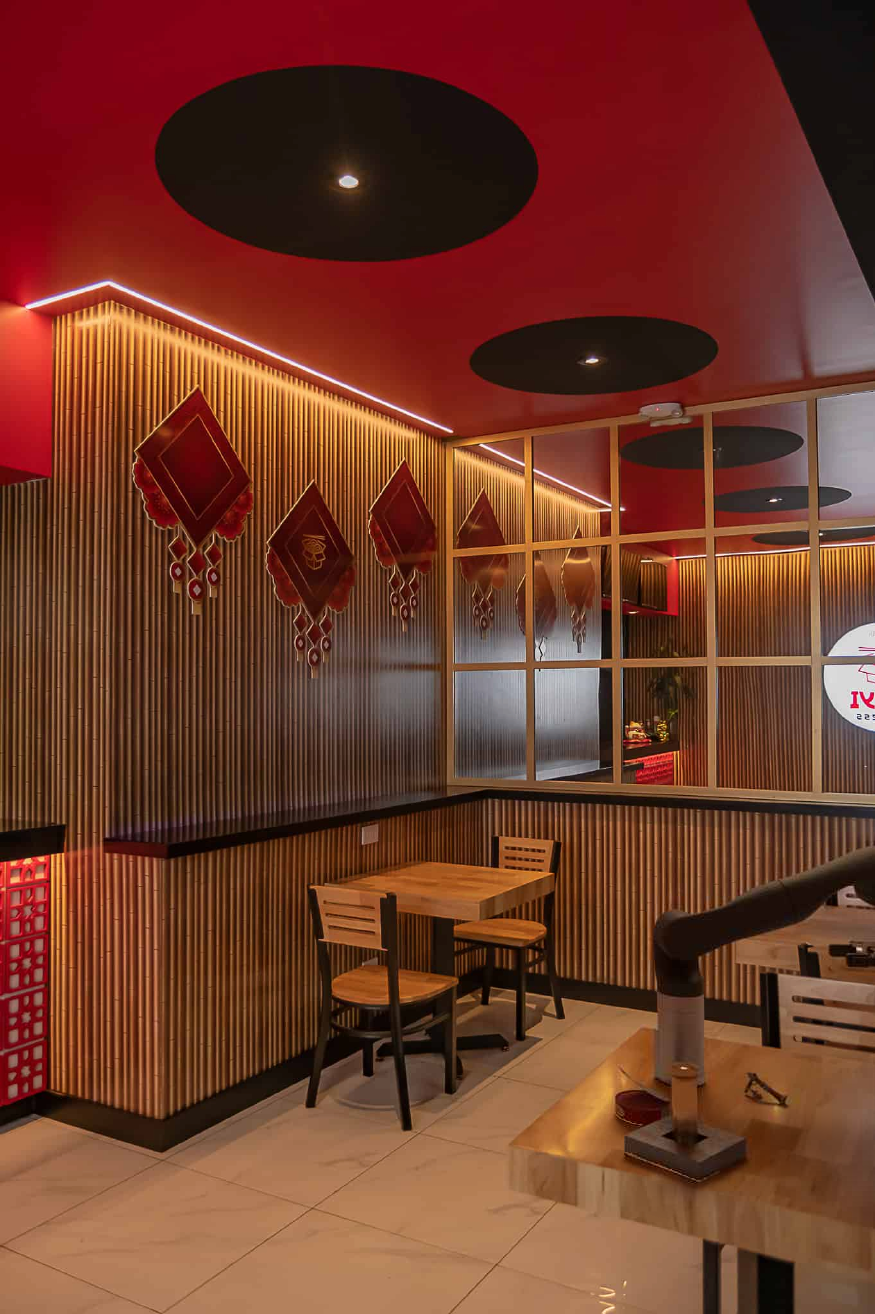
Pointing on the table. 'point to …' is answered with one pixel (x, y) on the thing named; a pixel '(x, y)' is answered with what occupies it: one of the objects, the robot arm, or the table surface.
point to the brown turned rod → (764, 1086)
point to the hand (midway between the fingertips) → (837, 955)
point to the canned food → (641, 1105)
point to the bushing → (684, 1102)
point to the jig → (686, 1148)
